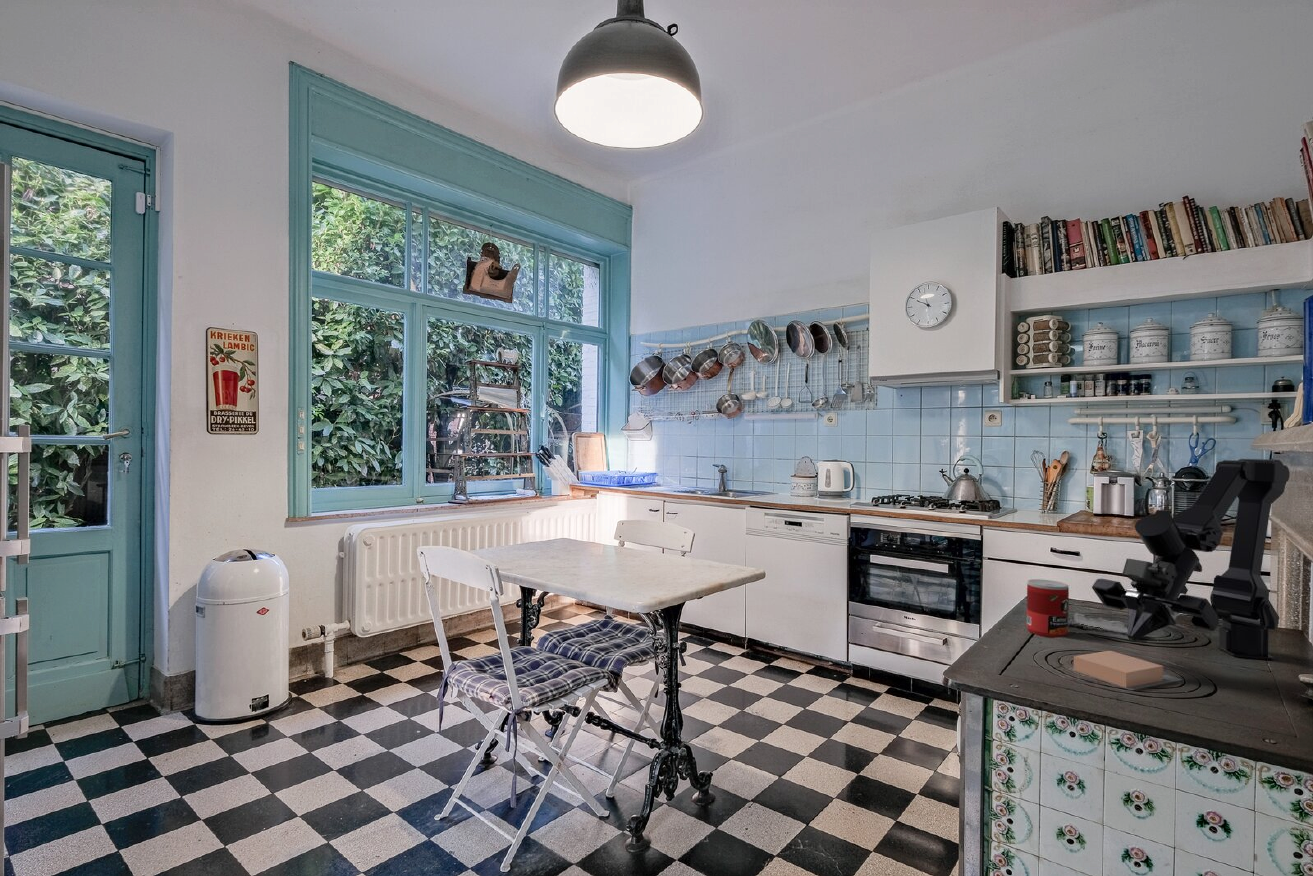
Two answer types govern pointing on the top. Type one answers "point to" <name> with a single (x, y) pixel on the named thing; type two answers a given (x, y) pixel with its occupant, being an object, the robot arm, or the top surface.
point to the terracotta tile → (1118, 668)
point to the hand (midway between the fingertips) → (1130, 638)
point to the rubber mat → (1165, 680)
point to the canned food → (1047, 608)
